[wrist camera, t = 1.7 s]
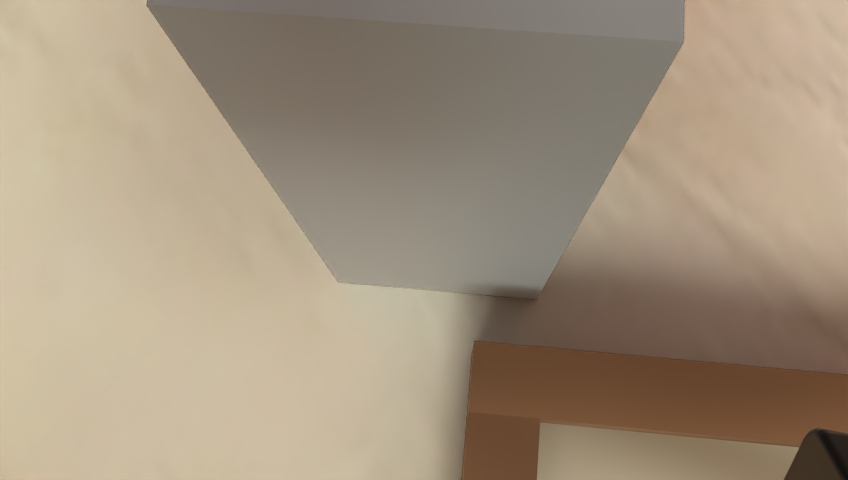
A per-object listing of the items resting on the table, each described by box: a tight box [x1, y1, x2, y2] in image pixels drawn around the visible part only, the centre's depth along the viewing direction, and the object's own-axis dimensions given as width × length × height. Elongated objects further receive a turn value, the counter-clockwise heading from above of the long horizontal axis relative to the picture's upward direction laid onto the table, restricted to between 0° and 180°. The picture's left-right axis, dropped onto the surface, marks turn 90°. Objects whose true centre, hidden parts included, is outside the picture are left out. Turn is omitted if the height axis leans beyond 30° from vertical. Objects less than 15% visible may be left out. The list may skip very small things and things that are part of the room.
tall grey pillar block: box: [146, 0, 685, 300], centre depth 14 cm, size 4×5×13 cm
